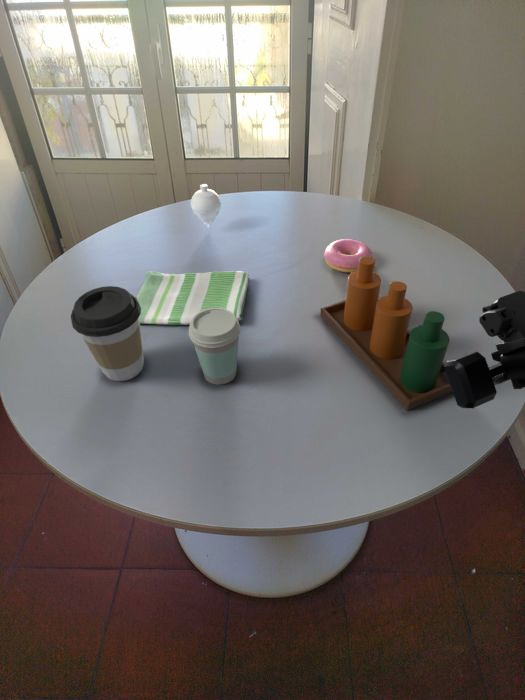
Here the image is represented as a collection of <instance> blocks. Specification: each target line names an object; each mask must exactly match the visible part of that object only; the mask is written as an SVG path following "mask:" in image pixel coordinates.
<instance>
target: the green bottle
mask: <svg viewBox="0 0 525 700" xmlns="http://www.w3.org/2000/svg"><path fill="white" fill-rule="evenodd" d="M445 318H446V317H445V316H444V314H443V313H441V312H439V311H436V310H430V311H428V312H426V314H425V316H424V319H423V323H422V324H418V325H416V326H414V327H413V328H412V329H411V330H410V336H409V340H408V344H407V349H406V353H405V357H404V361H403V365H402V370H401V374H400V381H401V383H402V385H403V386H404V387H405V388H407V389H408V390H410V391H413V392H417V393H426V392H429V391H431V390H433V389H434V387H435V385H436V382H437V379H438V376H439V373H440V369H441V366H442V363H443V362H444V360H445V357H446V354H447V350H448V348H449V344H450V336H449V334H448V333H447V332H446V331H445V330H444V329H443V326H444V322H445Z"/></svg>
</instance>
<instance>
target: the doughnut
mask: <svg viewBox="0 0 525 700" xmlns="http://www.w3.org/2000/svg"><path fill="white" fill-rule="evenodd" d="M372 254H373V253H372V251H371V248H370V247H369V246H368V245H367V244H366V243H364V241H361V240H357V239H354V238H353V239H351V238H344V239H337V240H335V241H332V242H331V243H330V244H329V245H327V247H326V249H325V250H324V254H323V255H324V260H325V263H326V264H327V265H328V267H330V268H331V269H333V270H335V271H337V272H342V273H353V272H355V271H358V266H359V259H360V258H361V257H365V256H368V257H372V258H373V255H372Z"/></svg>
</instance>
